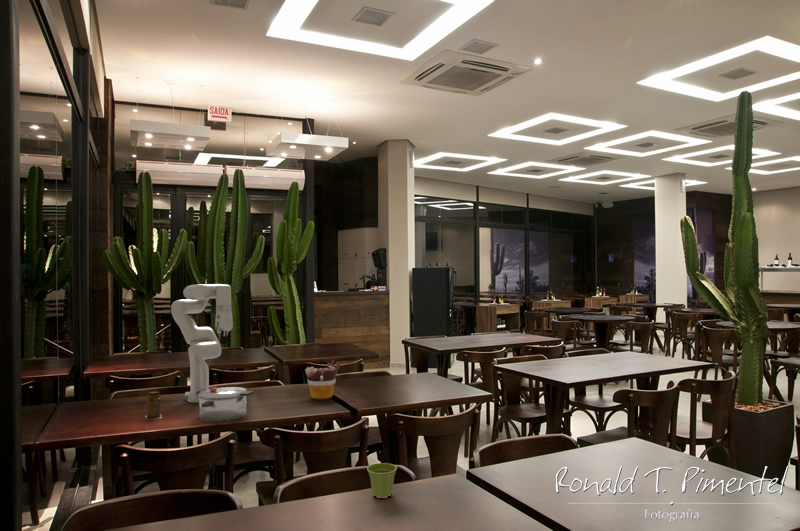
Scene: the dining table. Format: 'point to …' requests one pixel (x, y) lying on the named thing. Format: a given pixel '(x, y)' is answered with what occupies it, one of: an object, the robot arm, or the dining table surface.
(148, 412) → the condiment
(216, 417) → the cooker pot
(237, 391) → the cooker lid
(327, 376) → the bucket of meat
